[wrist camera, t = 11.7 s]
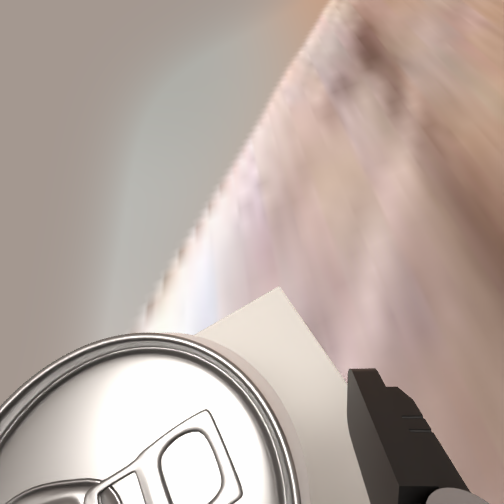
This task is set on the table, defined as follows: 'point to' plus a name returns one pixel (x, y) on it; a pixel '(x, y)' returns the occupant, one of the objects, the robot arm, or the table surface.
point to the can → (149, 429)
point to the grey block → (299, 390)
